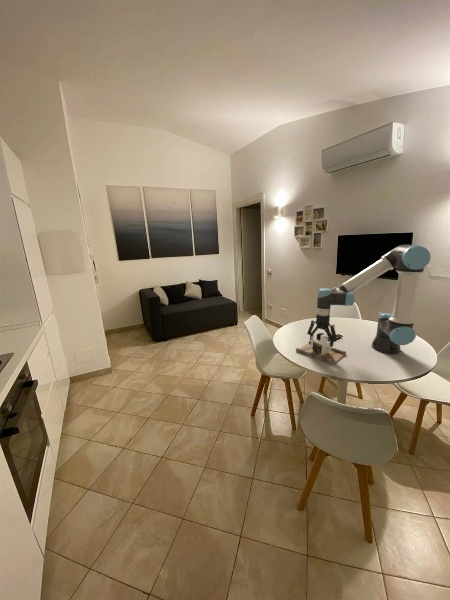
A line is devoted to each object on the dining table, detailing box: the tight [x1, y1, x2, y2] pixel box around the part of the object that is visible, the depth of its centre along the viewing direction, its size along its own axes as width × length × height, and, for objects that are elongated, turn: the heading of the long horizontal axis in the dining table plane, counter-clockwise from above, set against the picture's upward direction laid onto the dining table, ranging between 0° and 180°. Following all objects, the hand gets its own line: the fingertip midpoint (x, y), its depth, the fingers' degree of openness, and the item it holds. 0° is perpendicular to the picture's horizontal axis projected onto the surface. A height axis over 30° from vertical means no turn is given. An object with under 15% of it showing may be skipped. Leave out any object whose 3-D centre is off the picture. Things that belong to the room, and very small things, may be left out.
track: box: [295, 340, 347, 366], centre depth 150 cm, size 24×17×2 cm
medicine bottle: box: [313, 332, 329, 355], centre depth 149 cm, size 7×7×12 cm
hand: (320, 348), depth 150 cm, fingers open, 11 cm apart
